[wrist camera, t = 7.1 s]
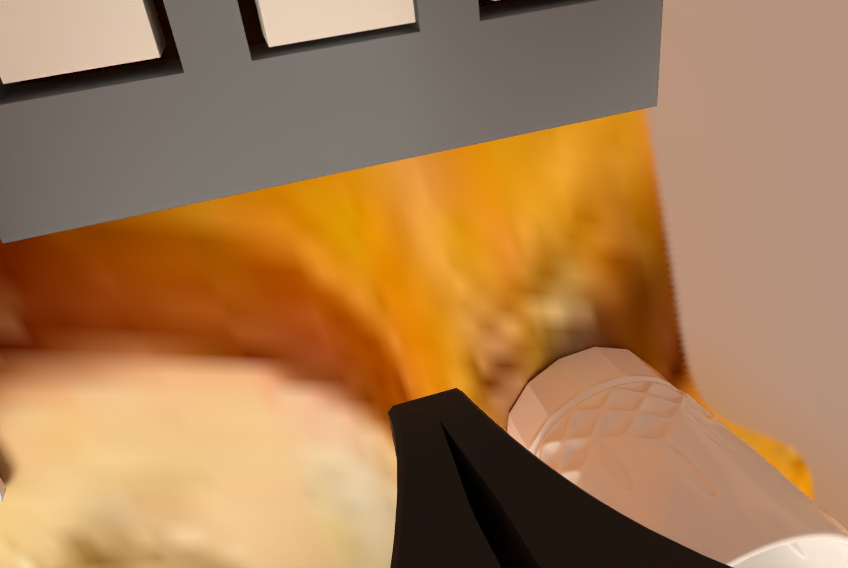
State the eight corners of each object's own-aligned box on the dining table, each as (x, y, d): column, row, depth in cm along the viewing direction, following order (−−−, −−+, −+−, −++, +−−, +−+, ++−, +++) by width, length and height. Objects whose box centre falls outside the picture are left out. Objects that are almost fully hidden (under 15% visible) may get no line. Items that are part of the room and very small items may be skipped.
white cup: (554, 307, 24) (744, 513, 15) (701, 359, 27) (923, 552, 19) (456, 471, 26) (572, 728, 18) (601, 500, 30) (758, 728, 21)
